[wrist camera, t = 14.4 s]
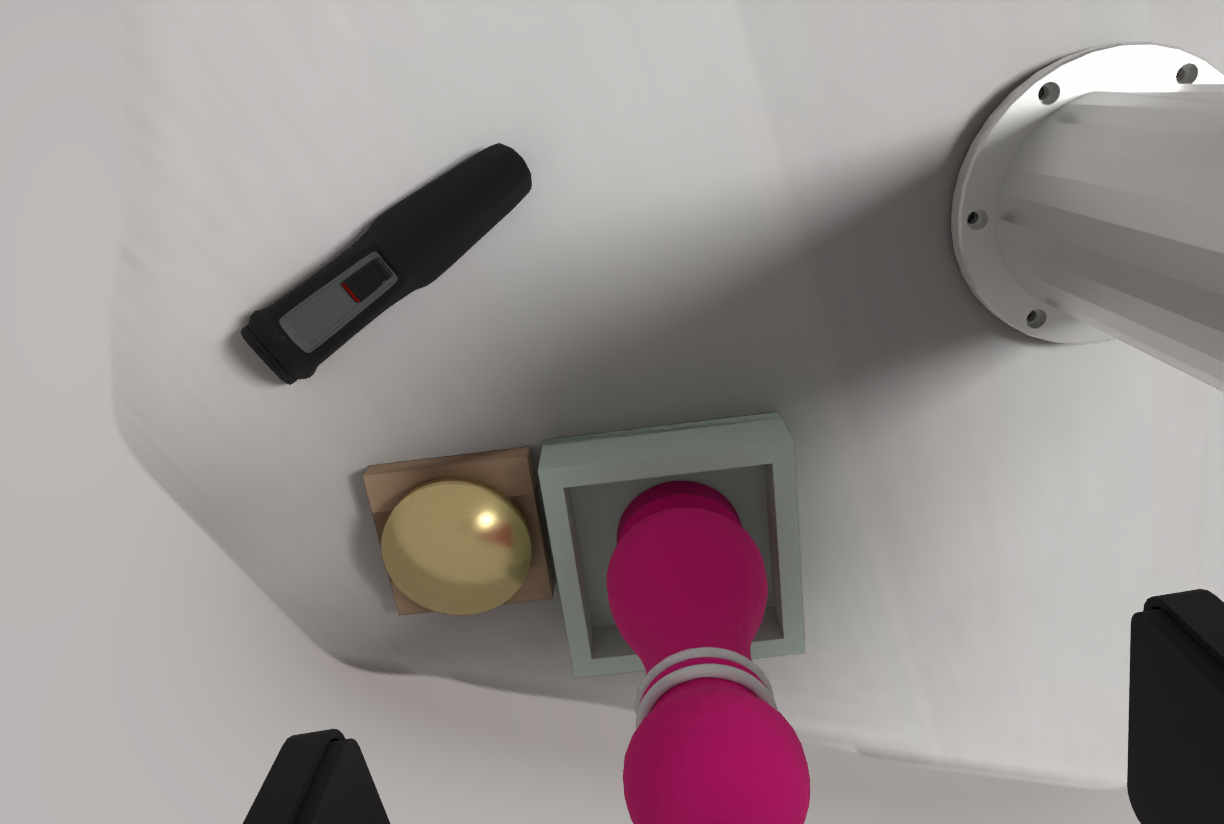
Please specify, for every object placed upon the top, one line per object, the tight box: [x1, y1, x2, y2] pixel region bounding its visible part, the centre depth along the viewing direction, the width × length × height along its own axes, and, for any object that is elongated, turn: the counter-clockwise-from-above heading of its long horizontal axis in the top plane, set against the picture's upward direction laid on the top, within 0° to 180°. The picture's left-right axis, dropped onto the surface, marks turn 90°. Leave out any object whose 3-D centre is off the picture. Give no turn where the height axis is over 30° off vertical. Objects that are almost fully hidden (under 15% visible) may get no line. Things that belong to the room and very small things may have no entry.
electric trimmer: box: [241, 143, 532, 385], centre depth 37 cm, size 4×16×3 cm, turn 125°
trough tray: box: [538, 412, 805, 678], centre depth 41 cm, size 12×12×4 cm
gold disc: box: [381, 477, 532, 615], centre depth 41 cm, size 7×7×2 cm
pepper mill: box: [606, 481, 810, 824], centre depth 33 cm, size 7×7×20 cm
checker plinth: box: [363, 447, 554, 615], centre depth 42 cm, size 8×8×1 cm
